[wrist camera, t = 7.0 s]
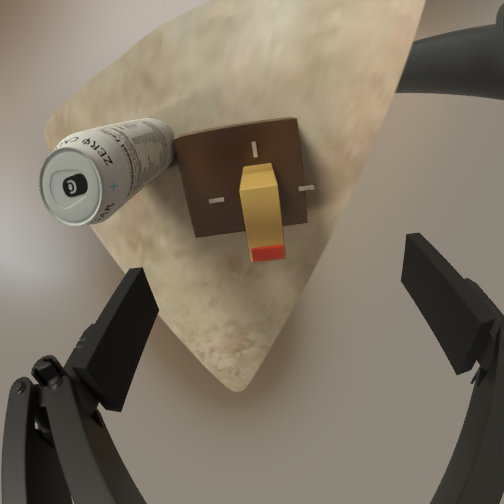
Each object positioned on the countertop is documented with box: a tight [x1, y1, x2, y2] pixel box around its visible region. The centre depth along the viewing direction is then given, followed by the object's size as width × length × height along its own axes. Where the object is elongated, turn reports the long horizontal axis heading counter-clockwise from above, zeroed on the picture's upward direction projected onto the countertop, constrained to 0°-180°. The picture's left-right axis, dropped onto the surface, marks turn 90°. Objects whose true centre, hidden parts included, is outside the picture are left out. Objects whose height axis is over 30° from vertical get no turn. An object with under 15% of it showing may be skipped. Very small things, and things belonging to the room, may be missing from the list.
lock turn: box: [239, 163, 286, 263], centre depth 23 cm, size 6×2×8 cm, turn 8°
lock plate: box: [173, 117, 314, 238], centre depth 27 cm, size 12×11×3 cm
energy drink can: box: [39, 118, 176, 227], centre depth 20 cm, size 6×6×15 cm
